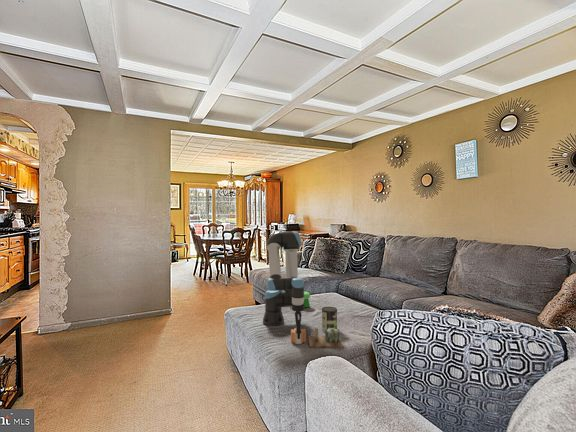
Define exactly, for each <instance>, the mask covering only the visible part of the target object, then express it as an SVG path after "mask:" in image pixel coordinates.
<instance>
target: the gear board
mask: <svg viewBox="0 0 576 432" xmlns="http://www.w3.org/2000/svg"><path fill="white" fill-rule="evenodd" d="M340 334H341V333H340V330H339V328H337V329H335V328H328V329H325V332H324V335H319V328H317V327H316V328H314V335H307V336H308V342H309V347H310V349H314V348H313V347H338V348H344V345H343V343H342V340H341V338H340Z"/></svg>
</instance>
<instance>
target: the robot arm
mask: <svg viewBox="0 0 576 432" xmlns="http://www.w3.org/2000/svg"><path fill="white" fill-rule="evenodd" d="M301 247H302V239H301V235H300V232H298V231H295V230H293V231H291V230H290V231H275V232H274V233H272V234H271V235H270V236H269V238H268V239H267V242H266V249H267V251H268V263H269V265H268V266H269V267H268V268H269V278H267V279H266V282H267V283H266V285H267V286H266V288H267V290H266V291H265V292H264V299H265V300H264V303H265V304H264V308H265V309H264V310H265V311H264V314H263V317H262V323H263V325H266V326H271V327H272V326H274V327H276V326H280V325H283V324H285V323H284V322H285V317H284V315H283V312H282V311H283V310H282V308H290V307H291V310H292V311H293V312H294V317H295V328H296V329H297V332H295V333H296V345H302V344H301V328H302V326H301V325H302V312H303V311H305V307H304V304H303V303H304V300H305V298H304V292H305V280H304V278H303V277H299V276H298V275H299V273H298V271H299V270H298V251H299V250H300V248H301ZM281 248H282V250H283V252H285V277H282V269H281V257H280V249H281Z"/></svg>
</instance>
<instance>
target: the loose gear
mask: <svg viewBox="0 0 576 432" xmlns="http://www.w3.org/2000/svg"><path fill="white" fill-rule="evenodd" d="M295 332H297V329H296V327H294V329H290V343H294V344H296V333H295ZM306 334H307V332H306V328H304V329H302V327H301V344H300V345H302V344H303V343H306V342H307V337H306V336H307V335H306ZM296 345H297V344H296Z"/></svg>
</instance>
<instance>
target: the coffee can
mask: <svg viewBox="0 0 576 432" xmlns="http://www.w3.org/2000/svg"><path fill="white" fill-rule="evenodd" d="M328 328H335V329H338V308H336V306H335V307H334V306H323V307H321V331H322V332H323V333H325V329H328Z"/></svg>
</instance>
